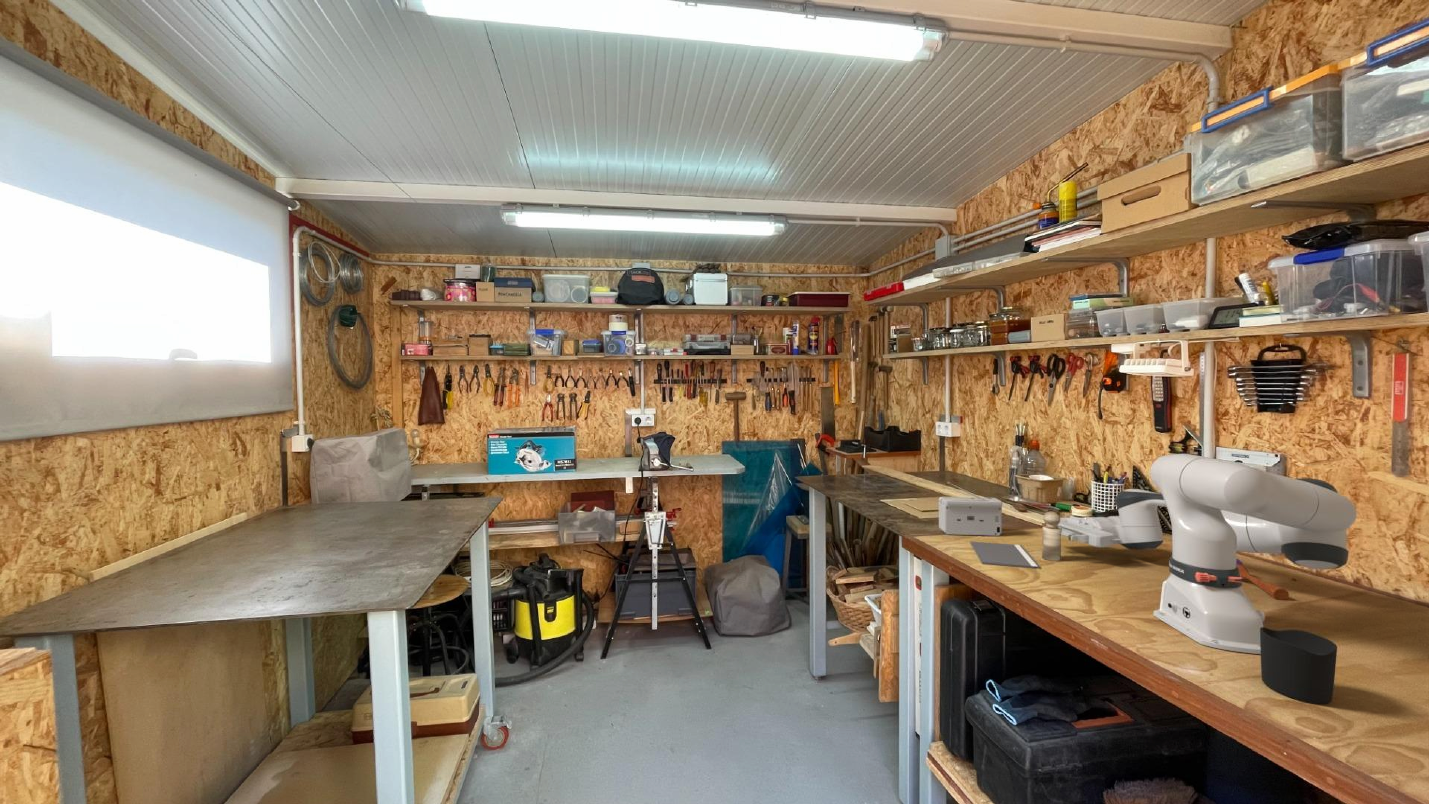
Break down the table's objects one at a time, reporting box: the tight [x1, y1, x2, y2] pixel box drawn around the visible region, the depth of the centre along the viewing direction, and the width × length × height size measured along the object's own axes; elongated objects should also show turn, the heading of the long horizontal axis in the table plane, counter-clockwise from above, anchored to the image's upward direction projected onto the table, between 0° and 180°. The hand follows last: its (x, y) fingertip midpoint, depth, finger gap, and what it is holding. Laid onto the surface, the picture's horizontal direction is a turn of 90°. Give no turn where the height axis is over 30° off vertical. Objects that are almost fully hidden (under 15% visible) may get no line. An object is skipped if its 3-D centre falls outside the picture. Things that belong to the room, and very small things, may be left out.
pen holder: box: [1260, 626, 1338, 705], centre depth 96 cm, size 9×9×10 cm
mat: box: [970, 541, 1041, 569], centre depth 172 cm, size 22×16×1 cm
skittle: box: [1041, 511, 1062, 562], centre depth 167 cm, size 5×5×15 cm
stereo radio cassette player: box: [938, 481, 1003, 537], centre depth 196 cm, size 21×8×20 cm, turn 82°
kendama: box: [1236, 557, 1289, 601], centre depth 144 cm, size 6×6×20 cm
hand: (1057, 533), depth 168 cm, fingers open, 8 cm apart
